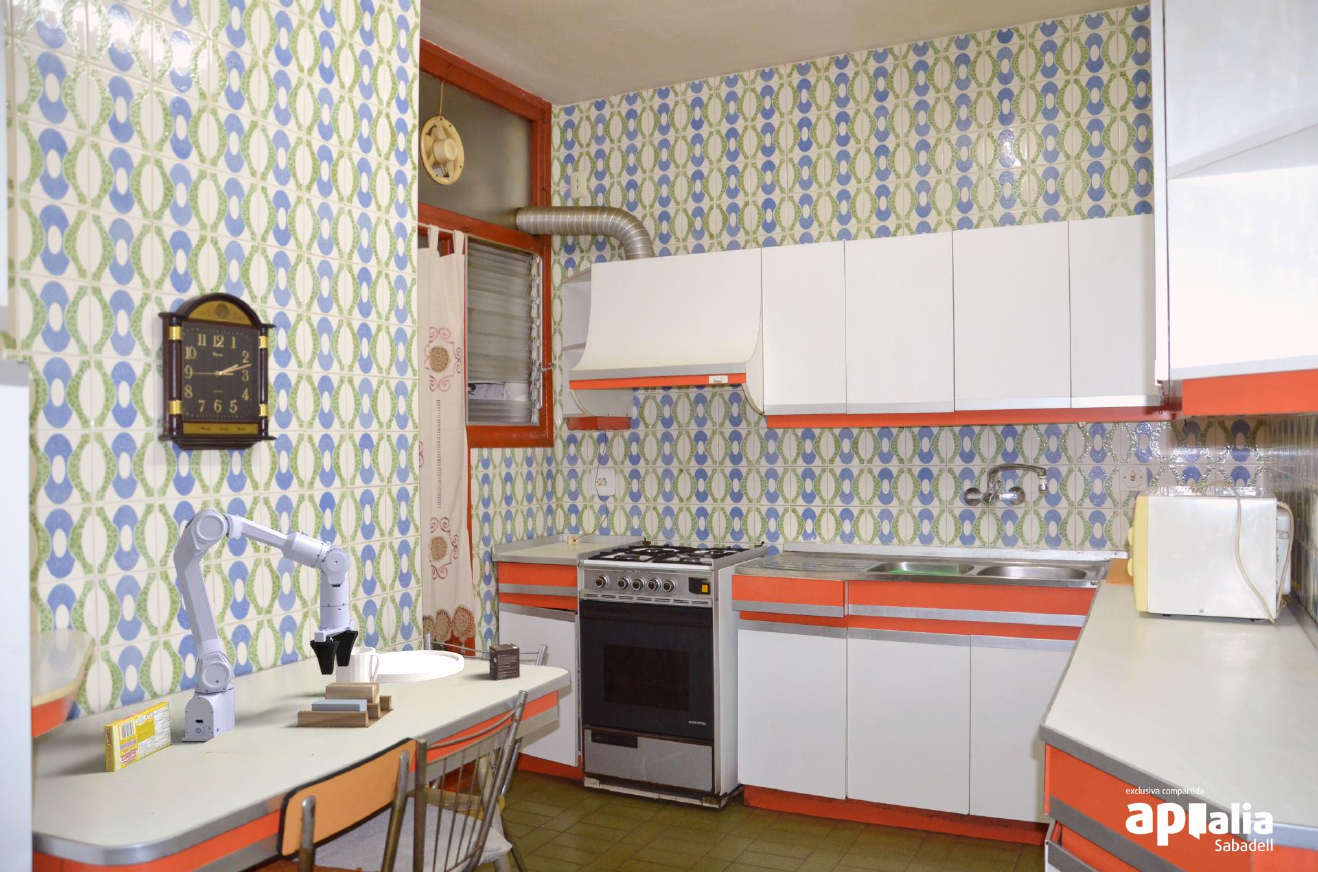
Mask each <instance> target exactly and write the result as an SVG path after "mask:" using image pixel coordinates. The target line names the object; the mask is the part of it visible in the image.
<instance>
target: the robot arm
mask: <svg viewBox="0 0 1318 872" xmlns="http://www.w3.org/2000/svg"><path fill="white" fill-rule="evenodd" d="M309 534H310V533H309V532H306V531H303V530H302V531H301V532H298V531H295V532H292V533H289V534H285V533H282V532H280V531H279V530H278V531H277V530H274V529H272V528H270V527H267V526H265V525H263V524H261V523H260V524H259V523H258V522H255V521H253V520H250V519H248V518H246V517H242V516H239V515H235V514H231V513H227V512H225V513H224V512H221V513H219V512H218V511H216V510H215V509H210V508H207V509H201V510H200V511H198V512H196V513H195V514H193V516H192V517H191V519H189V521H188V522H187V523H186V524H185V525H184V528H183V531H182V534H181V535H180V538H179V540H178V543H177V546H176V547H175V550H174V552H173V554H172V556H173V557H172V560H173V563H174V568H175V571H176V572H175V573H176V576H177V579H178V583H179V587H180V591H181V594H182V595H181V596H182V599H183V603H184V606H185V611H186V616H187V618H188V622H189V628H190V631H191V635H192V639H193V643H194V647H195V650H196V656H197V661H196V665H195V671H196V675H197V680H198V681H197V682H198V683H197V684H196V685H195V686H194V689H193V691H194V694H193V696H192V697H191V698H190V699H189V700H188V702H187V703H186V705H185V708H184V727H185V728H184V729H185V731H184V733H185V734H184V735H185V736H184V737H181V739H180V741H181V742H208V741H210V740H212V739H214V738H216V737H218V736H220V735H222V734H224V733H226V732H227V733H228V732H230V731H232V730H234V729H236V727H237V725H236V718H235V717H236V716H235V715H236V714H235V713H236V712H235V710H236V709H235V683H234V682H232V680H233V676H234V669H233V667H232V664H231V662H230V659H229V657H228V656H227V655H226V654H225V653H224V652H223V649H222V645H221V641H220V637H219V634H218V629H217V625H216V622H215V617H214V615H213V611H212V610H213V609H212V605H211V602H210V597H209V594H208V589H207V586H206V582H205V578H204V574H203V570H202V567H201V561H202V559H203V558H204V557H205V555H206V554H207V553H208V551H210V549H211V548H212V547H213V546H214V545H216V544H217V543H218V542H220V541H221V540H222V539H223V538H224V537H225V536H226V537H227V539H235V538H242V537H244V538H247V539H250V540H252V541H256V542H259V543H261V544H264V545H267V546H269V547H273V548H275V549H279V550H281V553H282V556H283V557H284V559H285V560H286V559H287V560H289V561H292V562H296V563H298V564H301V565H303V566H306V567H309V568H311V569H317V568H318V569H319V570H320V582H319V627H318V628H317V630H316V631H314V636H313V637H314V639H311V640H310V641H309V645H310V648H311V649H312V650H313V652H314V654H315V656H316V660H317V662H318V666H319V670H320V673H321V675H322V676H325V675H326V676H327V675H328V676H331V675H333V674H334V669H335V654H336V660H337V665H338V667H347V666H348V665H349V662H350V657H351V652H352V648H353V647H354V645H355V643H356V641H357V638H358V636H359V631H358V630H354V629H355V620H354V619H350V610H349V609H350V607H349V605H350V604H349V603H350V602H349V600H350V598H349V596H350V595H349V594H350V593H349V591H350V588H349V586H350V585H349V581H348V578H349V573H348V572H349V570H350V568H351V565H352V560H351V559H350V556H349V554H348V553H347V552H346V551H347V550H345V549H342V548H341V547H338V546H337V545H335V544H332V543H331V542H330V541H328V540H325V541H322V540H320V539H317V538H314V537H311V536H309Z"/></svg>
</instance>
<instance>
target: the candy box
mask: <svg viewBox="0 0 1318 872" xmlns="http://www.w3.org/2000/svg"><path fill="white" fill-rule="evenodd" d="M170 716H171V715H170V701H162V702H161V701H160V702H159V703H156V704H154V705H152V706H148V707H147V708H145V709H141V710H139V711H137V712H134V713H132V714H130V715H128V716H125V717H123V718H121V719H118V720H116V721H114V722H111V723H109V724H106V725H104V726H103V729H104V749H105V751H104V753H105V770H106V772H111V773H112V772H117V771H119V770H122V769H123V768H126V767H128V766H130V765H131V764H133V763H136V762H138V761H140V760H142V759H144V758H146V757H148V756H150V755H152V754H154V753H156V752H158V751H161V750H162V749H165V748H167V747H169V746H171V745H172V734H171V733H172V732H171V717H170Z"/></svg>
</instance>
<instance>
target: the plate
mask: <svg viewBox="0 0 1318 872" xmlns="http://www.w3.org/2000/svg"><path fill="white" fill-rule="evenodd" d="M378 654H379V655H380V656H381V665H380V668H379V671H378V675H377V678H376V680H375V682H379V684H397V683H398V684H399V683H413V682H422V681H427V680H428V681H429V680H434V679H440V678H444V677H448V676H450V675H453V674H457V673H458V672H460V671H462V670H463V669H464V666H465V665H464V664H465V659H464V657H463V656H462V654H459V653H457V652H452V651H446V650H430V649H429V650H423V649H418V650H401V651H391V652H385V653H384V652H383V653H378ZM376 663H377V658H376V657H375V660H374V670H375V667H376Z"/></svg>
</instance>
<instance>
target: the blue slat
mask: <svg viewBox="0 0 1318 872" xmlns="http://www.w3.org/2000/svg"><path fill="white" fill-rule="evenodd" d="M311 711H367V700H342V699H325V698H324V699H323V698H321V699H317V700H315V701H313V702H312V703H311Z"/></svg>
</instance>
